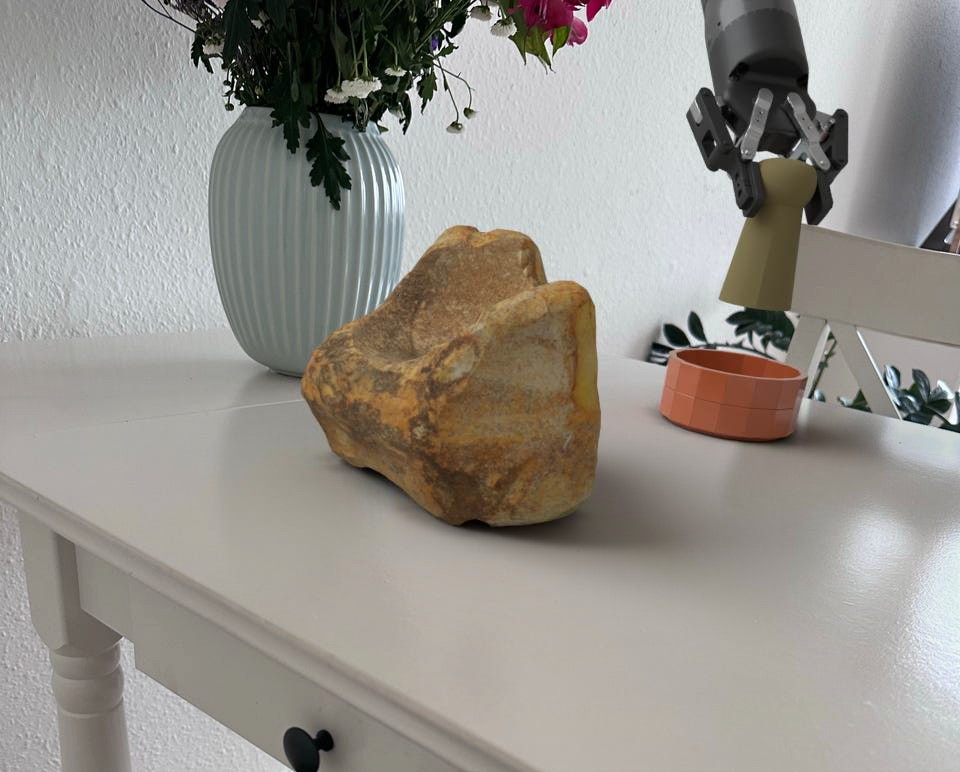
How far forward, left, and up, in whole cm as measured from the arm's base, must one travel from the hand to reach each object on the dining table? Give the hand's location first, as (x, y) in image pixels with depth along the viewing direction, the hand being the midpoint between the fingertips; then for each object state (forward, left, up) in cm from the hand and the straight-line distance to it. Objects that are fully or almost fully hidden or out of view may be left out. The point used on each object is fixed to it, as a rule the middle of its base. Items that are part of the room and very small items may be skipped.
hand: (787, 213), depth 76 cm
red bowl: (0, -2, -18) cm, 18 cm away
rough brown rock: (+30, +16, -18) cm, 38 cm away
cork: (0, -2, -7) cm, 8 cm away
